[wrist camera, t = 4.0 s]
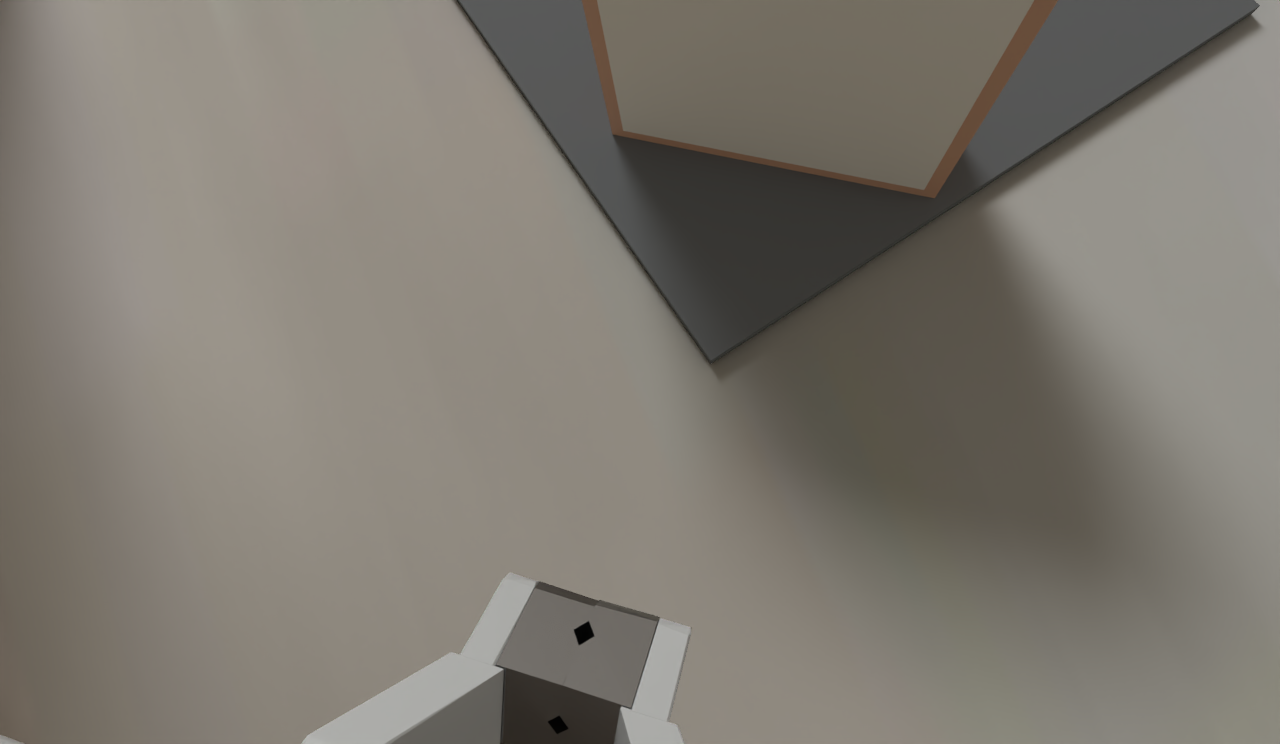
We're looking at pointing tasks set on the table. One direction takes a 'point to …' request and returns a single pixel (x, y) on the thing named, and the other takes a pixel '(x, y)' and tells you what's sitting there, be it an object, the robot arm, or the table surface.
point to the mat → (801, 202)
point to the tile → (813, 79)
